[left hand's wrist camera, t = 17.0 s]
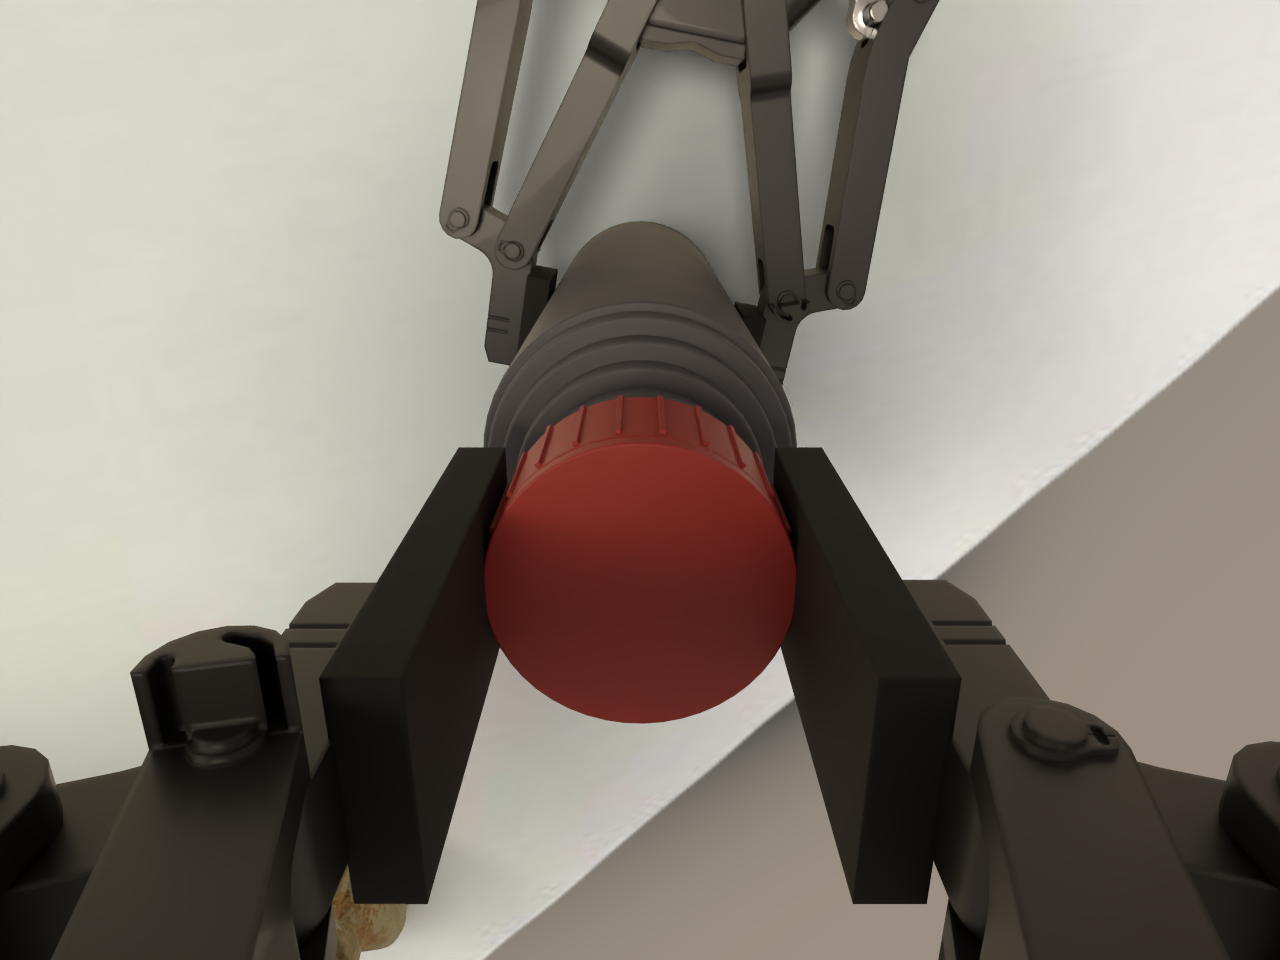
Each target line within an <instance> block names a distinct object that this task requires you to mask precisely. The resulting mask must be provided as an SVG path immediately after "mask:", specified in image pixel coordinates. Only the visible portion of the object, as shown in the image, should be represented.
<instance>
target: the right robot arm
mask: <svg viewBox="0 0 1280 960" xmlns="http://www.w3.org/2000/svg"><path fill="white" fill-rule="evenodd" d="M532 1H533V0H478V1H477V6H476V12H475V17H474V23H473V29H472V34H471V40H470V45H469V51H468V57H467V62H466V68H465V73H464V79H463V85H462V90H461V96H460V101H459V107H458V113H457V118H456V124H455V129H454V135H453V141H452V146H451V152H450V157H449V163H448V169H447V174H446V180H445V185H444V191H443V197H442V202H441V208H440V213H439V221H440V224H441V227H442V229H443V230H444V231H445V232H446V233H447V235H449V236H451V237H453V238H457V239H461V240H463V241H465V242H466V243H468V244H470V245H472V246H473V247H475V248H477V249H479V250H480V251H481V252H483V253H484V254H485V255H486V256H487V258H488V259H489V261H490V263H491V265H492V269H493V279H492V287H491V295H490V304H489V312H488V321H487V330H486V337H485V350H486V354H487V357H488V361H489V362H494V363H500V364H505V365H511V363H512V361H513V360H514V358H515V356H516V355H517V353H518V351H519V350H520V348H521V346H522V345H523V343H524V341H525V340H526V338H527V336H528V335H529V333H530V331H531V330H532V328H533V326H534V325H535V323H536V321H537V320H538V318H539V316H540V315H541V313H542V312H543V310H544V308H545V307H546V305H547V303H548V302H549V300H550V298H551V297H552V295H553V293H554V292H555V287H556V280H557V273H558V269H553V268H548V267H542V266H537V265H536V262H537V254H538V253H539V251H540V250H541V249H540V248H541V246H542V244H543V242H544V240H545V238H546V236H547V234H548V232H549V230H550V228H551V226H552V223H553V221H554V219H555V217H556V215H557V213H558V211H559V209H560V207H561V205H562V203H563V201H564V199H565V197H566V195H567V193H568V191H569V189H570V187H571V185H572V183H573V181H574V179H575V177H576V175H577V173H578V171H579V169H580V167H581V165H582V163H583V161H584V159H585V157H586V155H587V153H588V151H589V149H590V147H591V145H592V142H593V140H594V138H595V136H596V134H597V132H598V130H599V128H600V126H601V124H602V122H603V120H604V118H605V116H606V114H607V112H608V110H609V108H610V106H611V104H612V102H613V100H614V98H615V96H616V94H617V92H618V90H619V88H620V86H621V84H622V82H623V80H624V78H625V76H626V75H627V73H628V71H629V69H630V67H631V65H632V63H633V61H634V59H635V57H636V55H637V53H638V51H639V49H640V47H644V48H649V49H654V50H659V51H664V52H667V51H678V50H693V51H695V52H696V53H698V54H700V55H702V56H704V57H706V58H708V59H710V60H712V61H713V62H718V63H723V64H728V65H733V66H736V71H737V82H738V90H739V96H740V100H741V106H742V116H743V127H744V137H745V148H746V158H747V169H748V179H749V190H750V200H751V211H752V222H753V232H754V243H755V253H756V264H757V274H758V285H759V294H760V298H759V302H758V306H757V307H756V306H754V305H749V304H744V303H738V302H735V305H734V307H735V308H736V310H737V312H738V313H739V315H740V317H741V318H742V320H743V322H744V323H745V325H746V327H747V328H748V330H749V332H750V333H751V335H752V337H753V338H754V340H755V342H756V343H757V345H758V346H759V348H760V350H761V351H762V353H763V355H764V356H765V358H766V360H767V361H768V363H769V365H770V366H771V368H772V370H773V371H774V373H775V375H776V377H777V378H778V380H779V382H780V384H781V385H782V384H783V380H784V376H785V372H786V368H787V364H788V360H789V356H790V352H791V348H792V344H793V339H794V335H795V331H796V329H797V326H798V325H799V323H800V322H801V320H803V319H804V318H805V317H806V316H808V315H809V314H811V313H815V312H819V311H825V310H831V309H837V308H838V309H841V310H848V309H852V308H854V307H856V306H857V305H858V304H859V303H860V302H861V301H862V299H863V297H864V294H865V290H866V284H867V279H868V274H869V268H870V263H871V258H872V252H873V247H874V242H875V236H876V231H877V226H878V220H879V215H880V210H881V204H882V199H883V193H884V188H885V183H886V177H887V172H888V167H889V161H890V156H891V151H892V145H893V140H894V135H895V129H896V124H897V119H898V113H899V108H900V103H901V97H902V92H903V87H904V81H905V76H906V71H907V65H908V60H909V57H910V55H911V53H912V51H913V49H914V47H915V45H916V43H917V41H918V40H919V38H920V36H921V34H922V32H923V30H924V28H925V26H926V24H927V23H928V21H929V19H930V17H931V15H932V13H933V11H934V9H935V8H936V6H937V4H938V2H939V0H849V8H848V13H847V17H846V26H847V29H848V31H849V33H850V34H851V36H852V37H854V38H855V39H856V40H858V43H857V45H856V47H855V50H854V53H853V56H852V59H851V63H850V67H849V72H848V76H847V82H846V88H845V94H844V100H843V106H842V112H841V118H840V124H839V130H838V136H837V142H836V148H835V154H834V160H833V166H832V172H831V179H830V185H829V191H828V197H827V203H826V209H825V215H824V221H823V227H822V233H821V239H820V245H819V251H818V257H817V263H816V268H813V269H807V270H804V266H803V252H802V239H801V226H800V213H799V200H798V186H797V173H796V160H795V147H794V134H793V120H792V107H791V84H792V69H791V56H790V42H789V32H790V31H791V30H792V29H793V28H794V27H795V26H796V25H797V24H798V23H799V22H800V21H801V20H802V19H803V18H804V17H805V16H806V15H807V14H808V13H809V12H810V11H811V10H812V9H813V8H814V7H815V6H816V4H817V3H818V2H819V1H820V0H608V2H607V4H606V6H605V9H604V11H603V13H602V15H601V17H600V19H599V21H598V23H597V25H596V28H595V30H594V32H593V34H592V36H591V39H590V41H589V44H588V47H587V50H586V52H585V55H584V57H583V59H582V61H581V63H580V65H579V67H578V69H577V72H576V74H575V76H574V78H573V80H572V82H571V84H570V86H569V88H568V91H567V93H566V95H565V97H564V99H563V101H562V103H561V105H560V107H559V110H558V112H557V114H556V116H555V118H554V120H553V122H552V124H551V126H550V128H549V131H548V133H547V135H546V137H545V139H544V141H543V143H542V145H541V147H540V150H539V152H538V154H537V156H536V158H535V160H534V162H533V164H532V166H531V168H530V171H529V173H528V175H527V177H526V179H525V181H524V183H523V185H522V187H521V190H520V192H519V194H518V196H517V198H516V200H515V202H514V204H513V206H512V208H511V211H510V213H509V215H508V216H507V215H505V214H503V213H502V212H500V211H498V210H496V209H495V208H493V207H492V205H493V200H494V195H495V190H496V185H497V180H498V175H499V170H500V165H501V160H502V155H503V150H504V145H505V140H506V135H507V130H508V125H509V120H510V115H511V110H512V105H513V100H514V95H515V90H516V85H517V80H518V75H519V70H520V65H521V60H522V55H523V50H524V44H525V39H526V34H527V29H528V24H529V19H530V14H531V8H532Z"/></svg>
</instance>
